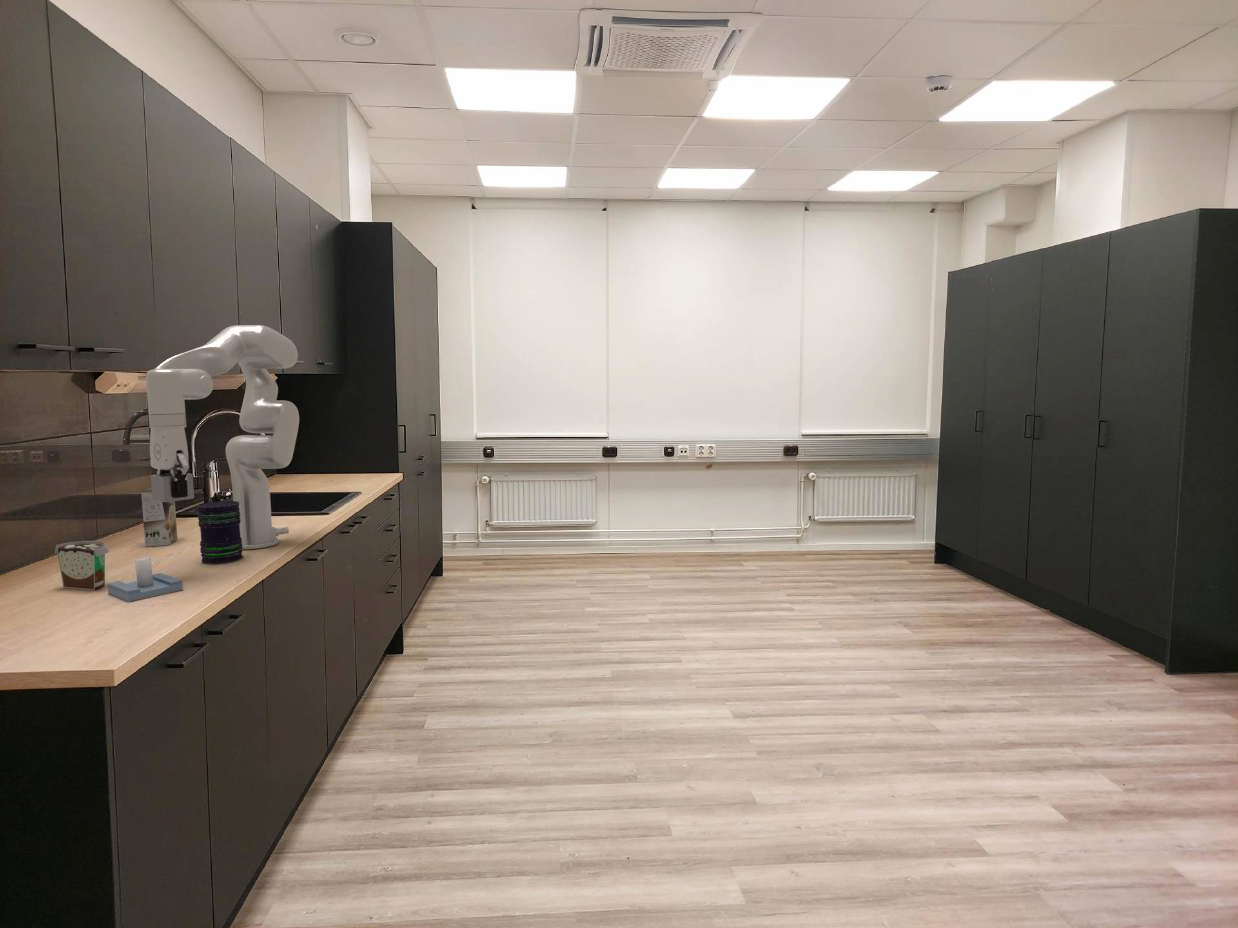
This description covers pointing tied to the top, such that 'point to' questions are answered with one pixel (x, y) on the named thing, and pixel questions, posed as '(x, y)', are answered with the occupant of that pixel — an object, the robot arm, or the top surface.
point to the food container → (82, 564)
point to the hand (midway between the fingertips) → (173, 495)
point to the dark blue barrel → (220, 532)
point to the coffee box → (158, 520)
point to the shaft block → (145, 583)
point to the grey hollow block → (168, 487)
